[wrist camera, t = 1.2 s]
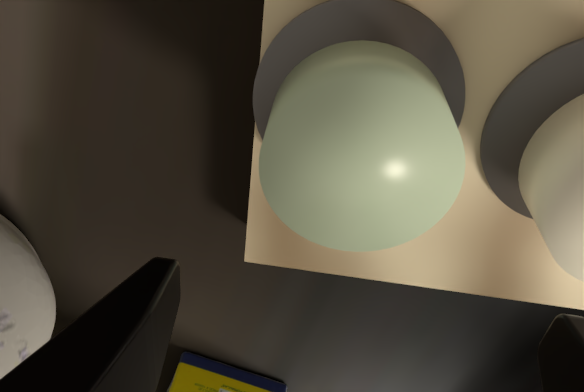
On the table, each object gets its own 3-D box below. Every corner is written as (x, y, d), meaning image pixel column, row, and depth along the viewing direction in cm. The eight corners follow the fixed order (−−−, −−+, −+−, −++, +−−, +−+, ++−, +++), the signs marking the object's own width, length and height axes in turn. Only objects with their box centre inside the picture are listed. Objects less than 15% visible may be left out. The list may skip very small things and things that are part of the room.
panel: (1080, -91, 13) (1208, -80, 11) (736, 297, 21) (776, 343, 19) (284, -199, 13) (274, -208, 11) (249, 228, 21) (240, 266, 19)
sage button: (471, 54, 12) (496, 93, 10) (421, 209, 15) (433, 263, 13) (279, 27, 12) (267, 61, 11) (263, 187, 15) (252, 237, 13)
